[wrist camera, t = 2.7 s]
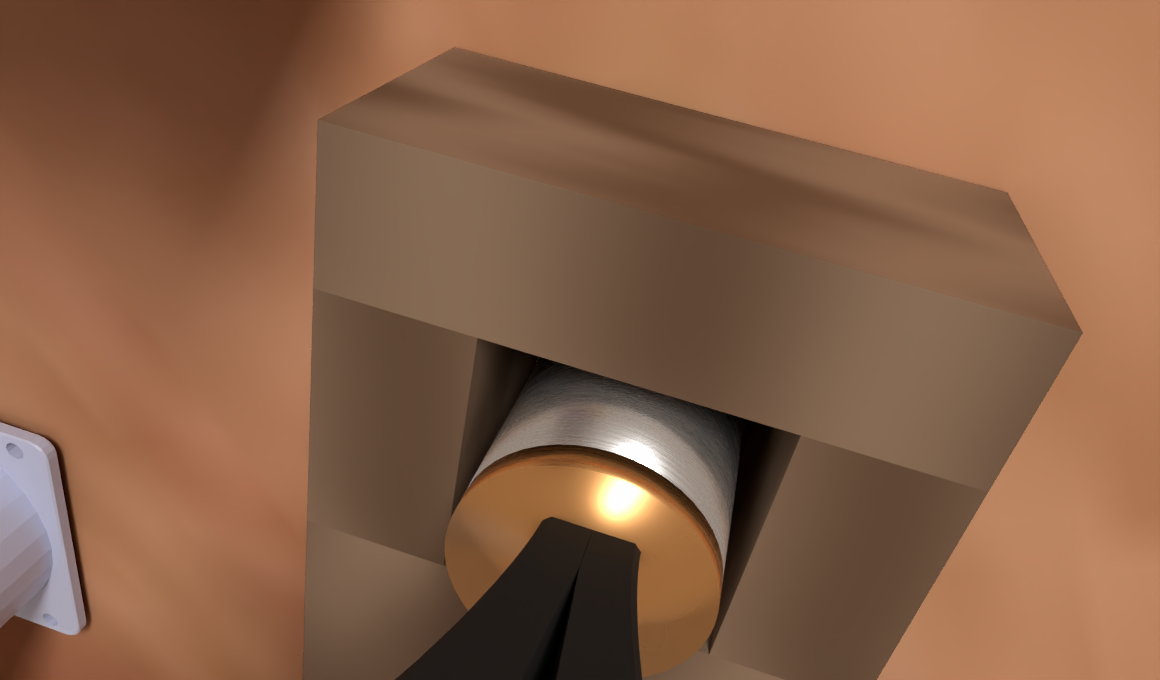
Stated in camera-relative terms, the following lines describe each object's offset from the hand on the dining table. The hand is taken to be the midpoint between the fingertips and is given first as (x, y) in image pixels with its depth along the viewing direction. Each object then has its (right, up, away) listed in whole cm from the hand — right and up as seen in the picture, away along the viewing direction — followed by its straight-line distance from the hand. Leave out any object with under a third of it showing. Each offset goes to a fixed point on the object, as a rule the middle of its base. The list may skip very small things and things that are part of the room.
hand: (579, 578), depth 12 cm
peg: (+1, +2, +4) cm, 4 cm away
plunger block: (0, -3, +10) cm, 10 cm away
